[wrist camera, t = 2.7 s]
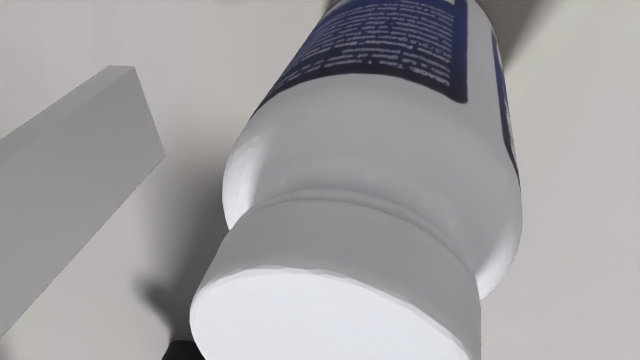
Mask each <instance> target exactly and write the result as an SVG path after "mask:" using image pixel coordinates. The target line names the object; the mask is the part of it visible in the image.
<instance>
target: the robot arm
mask: <svg viewBox="0 0 640 360" xmlns="http://www.w3.org/2000/svg"><path fill="white" fill-rule="evenodd" d="M165 156H166V155H165V152H164V150H163V147H162V144H161V141H160V138H159V135H158V133H157V130H156V127H155V124H154V121H153V118H152V116H151V113H150V110H149V107H148V104H147V101H146V98H145V96H144V93H143V90H142V87H141V84H140V81H139V79H138V76H137V73H136V70H135V67H134V66H108V67H106V68H105V69H103V70H102V71H100V72H99V73H97V74H96V75H95V76H93V77H92V78H90V79H89V80H87V81H86V82H84V83H83V84H81V85H80V86H78V87H77V88H76V89H74V90H73V91H71V92H70V93H68V94H67V95H65V96H64V97H62V98H61V99H60V100H58V101H57V102H55V103H54V104H52V105H51V106H49V107H48V108H46V109H45V110H43V111H42V112H41V113H39V114H38V115H36V116H35V117H33V118H32V119H30V120H29V121H27V122H26V123H24V124H23V125H22V126H20V127H19V128H17V129H16V130H14V131H13V132H11V133H10V134H8V135H7V136H6V137H4V138H3V139H1V140H0V339H1V337H2V336H3V335H4V334H5V333H6V332H7V331H8V330H9V329H10V327H11V326H12V325H13V324H14V323H15V322H16V321H17V320H18V319H19V318H20V316H21V315H22V314H23V313H24V312H25V311H26V310H27V309H28V308H29V306H30V305H31V304H32V303H33V302H34V301H35V300H36V299H37V298H38V296H39V295H40V294H41V293H42V292H43V291H44V290H45V289H46V288H47V287H48V285H49V284H50V283H51V282H52V281H53V280H54V279H55V278H56V277H57V275H58V274H59V273H60V272H61V271H62V270H63V269H64V268H65V267H66V265H67V264H68V263H69V262H70V261H71V260H72V259H73V258H74V257H75V256H76V254H77V253H78V252H79V251H80V250H81V249H82V248H83V247H84V246H85V244H86V243H87V242H88V241H89V240H90V239H91V238H92V237H93V236H94V234H95V233H96V232H97V231H98V230H99V229H100V228H101V227H102V226H103V225H104V223H105V222H106V221H107V220H108V219H109V218H110V217H111V216H112V215H113V213H114V212H115V211H116V210H117V209H118V208H119V207H120V206H121V205H122V203H123V202H124V201H125V200H126V199H127V198H128V197H129V196H130V195H131V194H132V192H133V191H134V190H135V189H136V188H137V187H138V186H139V185H140V184H141V182H142V181H143V180H144V179H145V178H146V177H147V176H148V175H149V174H150V172H151V171H152V170H153V169H154V168H155V167H156V166H157V165H158V164H159V163H160V161H161V160H162V159H163V158H164V157H165Z"/></svg>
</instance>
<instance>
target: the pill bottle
mask: <svg viewBox="0 0 640 360" xmlns="http://www.w3.org/2000/svg"><path fill="white" fill-rule="evenodd" d="M222 201H223V208H224V213H225V218H226V222H227V225H228V228H229V232H228V233H227V235H226V236H225V238H224V239H223V241H222V242H221V244H220V246H219V249H218V251H217V253H216V255H215V257H214V259H213V261H212V263H211V265H210V266H209V268H208V270H207V272H206V274H205V276H204V277H203V279H202V281H201V283H200V285H199V287H198V289H197V291H196V293H195V295H194V297H193V300H192V303H191V307H190V327H191V332H192V335H193V338H194V341H195V343H196V344H197V346H198V348H199V350H200V352H201V353H202V355H203V356H204V358H205V359H206V360H481V307H480V300H482V299H483V298H484V297H485V296H486V295H487V294H489V293H490V292H491V291H492V290H493V289H494V288H495V287H496V286H497V284H498V283H499V282H500V281H501V280H502V279H503V277H504V276H505V274H506V273H507V271H508V270H509V268H510V266H511V264H512V262H513V260H514V257H515V255H516V252H517V249H518V246H519V242H520V237H521V231H522V203H521V189H520V181H519V174H518V168H517V162H516V154H515V149H514V141H513V135H512V128H511V121H510V114H509V107H508V101H507V93H506V85H505V78H504V70H503V63H502V59H501V53H500V48H499V45H498V41H497V38H496V35H495V32H494V29H493V27H492V25H491V23H490V21H489V19H488V17H487V16H486V14H485V13H484V11H483V10H482V9H481V7H480V6H479V5H478V4H477V3H476V2H475V1H474V0H336V1H335V2H334V3H333V4H332V5H331V6H330V8H329V9H328V10H327V11H326V12H325V14H324V15H323V16H322V18H321V19H320V21H319V22H318V24H317V25H316V27H315V28H314V29H313V31H312V32H311V34H310V35H309V36H308V38H307V39H306V41H305V42H304V44H303V45H302V47H301V48H300V49H299V51H298V52H297V54H296V55H295V56H294V58H293V59H292V61H291V62H290V63H289V65H288V66H287V68H286V69H285V70H284V72H283V73H282V75H281V76H280V78H279V79H278V80H277V82H276V83H275V84H274V86H273V87H272V89H271V90H270V91H269V93H268V94H267V95H266V97H265V98H264V100H263V101H262V102H261V103H260V105H259V106H258V108H257V109H256V110H255V112H254V113H253V115H252V116H251V117H250V119H249V121H248V123H247V125H246V126H245V128H244V129H243V131H242V132H241V134H240V136H239V137H238V139H237V141H236V143H235V144H234V146H233V148H232V150H231V153H230V155H229V157H228V160H227V164H226V167H225V171H224V177H223V190H222Z"/></svg>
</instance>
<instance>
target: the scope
mask: <svg viewBox="0 0 640 360" xmlns="http://www.w3.org/2000/svg"><path fill="white" fill-rule="evenodd" d="M162 360H206V359H205V358H204V356H203V355H202V353H201V352H200V350H199V348H198V346H197V344H196V343H195V342H191V341H183V340H180V341H175V342H173V343H171V344H170V346H169V347H168V349H167V351H166V353H165V354H164V356H163V358H162Z"/></svg>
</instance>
